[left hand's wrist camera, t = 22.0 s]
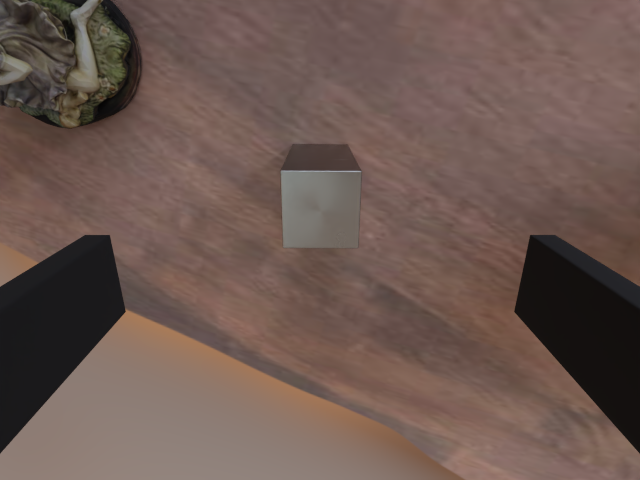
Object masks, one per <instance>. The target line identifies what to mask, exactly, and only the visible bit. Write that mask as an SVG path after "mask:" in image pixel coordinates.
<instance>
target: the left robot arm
mask: <svg viewBox="0 0 640 480" xmlns="http://www.w3.org/2000/svg"><path fill="white" fill-rule="evenodd" d="M125 312H126V311H125V306H124V302H123V297H122V292H121V287H120V282H119V277H118V273H117V268H116V263H115V258H114V253H113V249H112V244H111V239H110V235H85V236H83V237H81V238H80V239H78V240H76V241H75V242H73V243H71V244H70V245H68V246H66V247H65V248H63V249H62V250H60V251H58V252H57V253H55V254H53V255H52V256H50V257H48V258H47V259H45V260H43V261H42V262H40V263H39V264H37V265H35V266H34V267H32V268H30V269H29V270H27V271H25V272H24V273H22V274H20V275H19V276H17V277H16V278H14V279H12V280H11V281H9V282H7V283H6V284H4V285H2V286H1V287H0V453H1V452H2V451H3V450H4V449H5V447H6V446H7V445H8V444H9V443H10V442H11V441H12V440H13V438H14V437H15V436H16V435H17V434H18V433H19V432H20V431H21V429H22V428H23V427H24V426H25V425H26V424H27V423H28V421H29V420H30V419H31V418H32V417H33V416H34V415H35V413H36V412H37V411H38V410H39V409H40V408H41V407H42V406H43V405H44V403H45V402H46V401H47V400H48V399H49V398H50V397H51V395H52V394H53V393H54V392H55V391H56V390H57V389H58V388H59V386H60V385H61V384H62V383H63V382H64V381H65V380H66V379H67V377H68V376H69V375H70V374H71V373H72V372H73V371H74V370H75V368H76V367H77V366H78V365H79V364H80V363H81V362H82V360H83V359H84V358H85V357H86V356H87V355H88V354H89V353H90V351H91V350H92V349H93V348H94V347H95V346H96V345H97V344H98V342H99V341H100V340H101V339H102V338H103V337H104V336H105V334H106V333H107V332H108V331H109V330H110V329H111V328H112V327H113V325H114V324H115V323H116V322H117V321H118V320H119V319H120V317H121V316H122V315H123V314H124V313H125ZM514 312H515V313H516V314H517V315H518V316H519V318H520V319H521V320H522V321H523V322H524V323H525V324H526V325H527V327H528V328H529V329H530V330H531V331H532V332H533V333H534V334H535V336H536V337H537V338H538V339H539V340H540V341H541V342H542V344H543V345H544V346H545V347H546V348H547V349H548V350H549V351H550V353H551V354H552V355H553V356H554V357H555V358H556V359H557V360H558V362H559V363H560V364H561V365H562V366H563V367H564V368H565V370H566V371H567V372H568V373H569V374H570V375H571V376H572V377H573V379H574V380H575V381H576V382H577V383H578V384H579V385H580V386H581V388H582V389H583V390H584V391H585V392H586V393H587V394H588V395H589V397H590V398H591V399H592V400H593V401H594V402H595V403H596V405H597V406H598V407H599V408H600V409H601V410H602V411H603V412H604V414H605V415H606V416H607V417H608V418H609V419H610V420H611V421H612V423H613V424H614V425H615V426H616V427H617V428H618V429H619V431H620V432H621V433H622V434H623V435H624V436H625V437H626V438H627V440H628V441H629V442H630V443H631V444H632V445H633V446H634V447H635V449H636V450H637V451H638V452H639V453H640V287H639V286H638V285H636V284H634V283H633V282H631V281H629V280H628V279H626V278H624V277H623V276H621V275H620V274H618V273H616V272H615V271H613V270H611V269H610V268H608V267H606V266H605V265H603V264H601V263H600V262H598V261H597V260H595V259H593V258H592V257H590V256H588V255H587V254H585V253H583V252H582V251H580V250H578V249H577V248H575V247H574V246H572V245H570V244H569V243H567V242H565V241H564V240H562V239H560V238H559V237H557V236H555V235H530V239H529V244H528V249H527V253H526V258H525V263H524V268H523V273H522V277H521V282H520V287H519V292H518V297H517V302H516V306H515V311H514Z"/></svg>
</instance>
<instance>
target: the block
mask: <svg viewBox="0 0 640 480" xmlns="http://www.w3.org/2000/svg"><path fill="white" fill-rule="evenodd" d="M280 180H281V211H282V241H283V248H358V247H359V225H360V203H361V181H362V171H361V169H360V167H359V165H358V163H357V161H356V159H355V157H354V155H353V153H352V152H351V150H350V148H349V146H348V145H335V144H293V145H292V147H291V149H290V151H289V153H288V156H287V158H286V160H285V162H284V164H283V166H282V169H281V171H280Z"/></svg>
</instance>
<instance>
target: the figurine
mask: <svg viewBox="0 0 640 480" xmlns="http://www.w3.org/2000/svg"><path fill="white" fill-rule="evenodd" d="M140 74H141V56H140V49H139V44H138V40H137V37H136V35H135V33H134V31H133V29H132V27H131V25H130V23H129V22H128V20H127V19H126V18H125V17H124V15H123V14H122V13H121V12H120V10H119V9H118V8H117V6H116V5H115V4H114V3H112V2H111V1H110V0H0V106H2V105H5V106H7V107H11V108H12V107H19V108H20V109H21V111H23V112H25V113H27V114H29V115H31V116H33V117H35V118H36V119H39V120H41V121H43V122H45V123H47V124H50V125H53V126H57V127H63V128H69V129H71V128H74V127H79V126H83V125H87V124H90V123H93V122H96V121H99V120H101V119H104V118H106V117H108V116H111V115H114V114H115V113H117V112H119V111H120V110H122V109H123V108H125V107H126V106H127V105H128V103H129V102H130V101H131V99H132V98H133V96H134V94H135V92H136V88H137V85H138V82H139V79H140Z"/></svg>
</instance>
